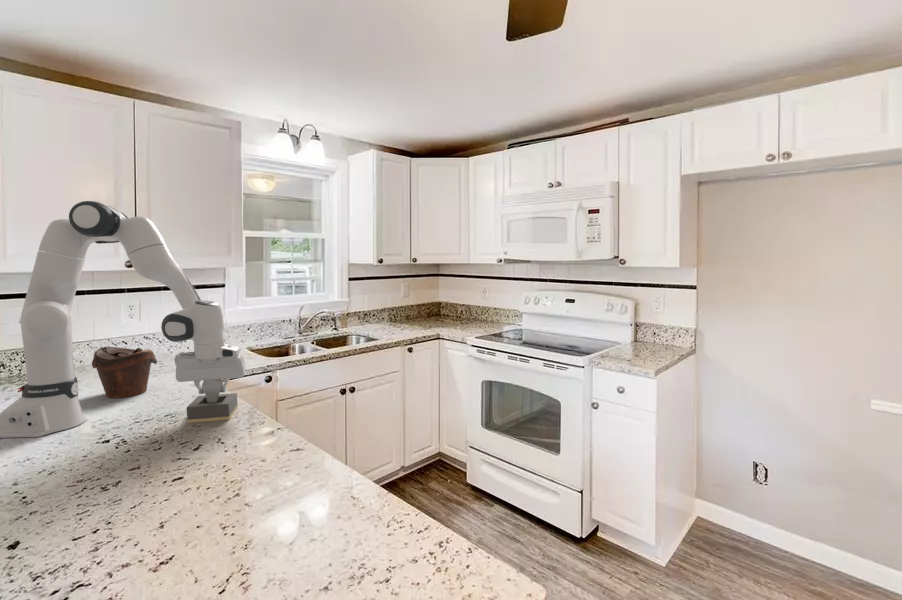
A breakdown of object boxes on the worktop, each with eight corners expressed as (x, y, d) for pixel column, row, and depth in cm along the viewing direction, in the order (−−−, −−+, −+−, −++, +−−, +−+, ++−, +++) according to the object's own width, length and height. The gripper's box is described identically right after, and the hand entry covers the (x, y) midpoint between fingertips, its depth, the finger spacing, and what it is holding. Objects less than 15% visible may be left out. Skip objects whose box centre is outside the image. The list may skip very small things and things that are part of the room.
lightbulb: (214, 413, 146) (214, 379, 145) (197, 411, 147) (197, 377, 147) (226, 407, 152) (227, 374, 151) (210, 405, 153) (210, 373, 153)
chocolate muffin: (160, 393, 173) (156, 346, 171) (93, 404, 162) (88, 354, 160) (158, 383, 188) (154, 340, 186) (96, 392, 177) (92, 346, 175)
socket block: (187, 422, 143) (186, 407, 142) (199, 410, 154) (198, 395, 154) (229, 419, 146) (228, 404, 145) (237, 407, 157) (236, 393, 157)
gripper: (170, 355, 143) (173, 398, 144) (241, 351, 147) (244, 393, 149) (177, 350, 149) (180, 392, 150) (245, 347, 153) (247, 387, 155)
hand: (212, 392), depth 149 cm, fingers closed on lightbulb, 5 cm apart
